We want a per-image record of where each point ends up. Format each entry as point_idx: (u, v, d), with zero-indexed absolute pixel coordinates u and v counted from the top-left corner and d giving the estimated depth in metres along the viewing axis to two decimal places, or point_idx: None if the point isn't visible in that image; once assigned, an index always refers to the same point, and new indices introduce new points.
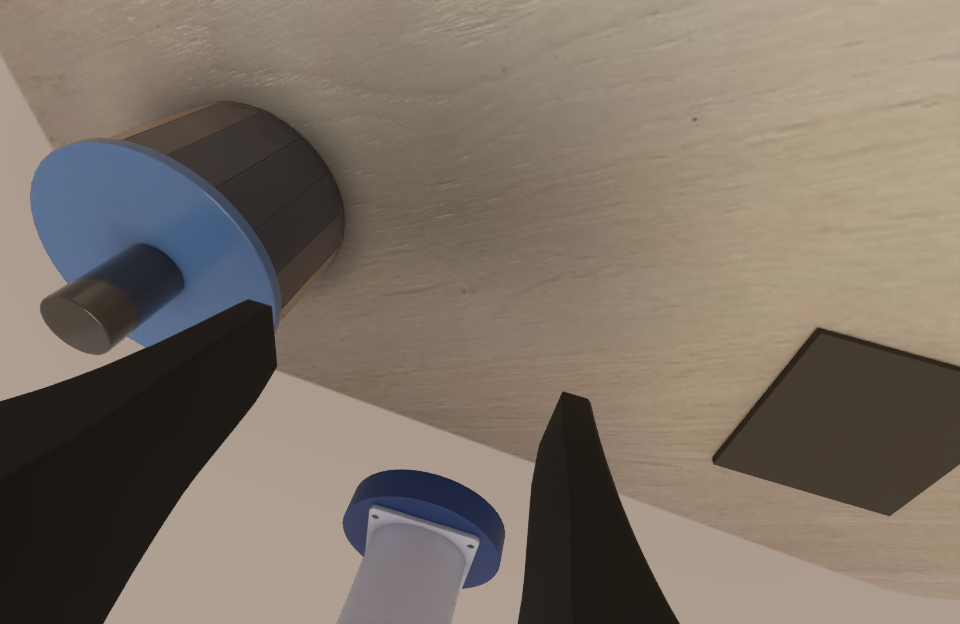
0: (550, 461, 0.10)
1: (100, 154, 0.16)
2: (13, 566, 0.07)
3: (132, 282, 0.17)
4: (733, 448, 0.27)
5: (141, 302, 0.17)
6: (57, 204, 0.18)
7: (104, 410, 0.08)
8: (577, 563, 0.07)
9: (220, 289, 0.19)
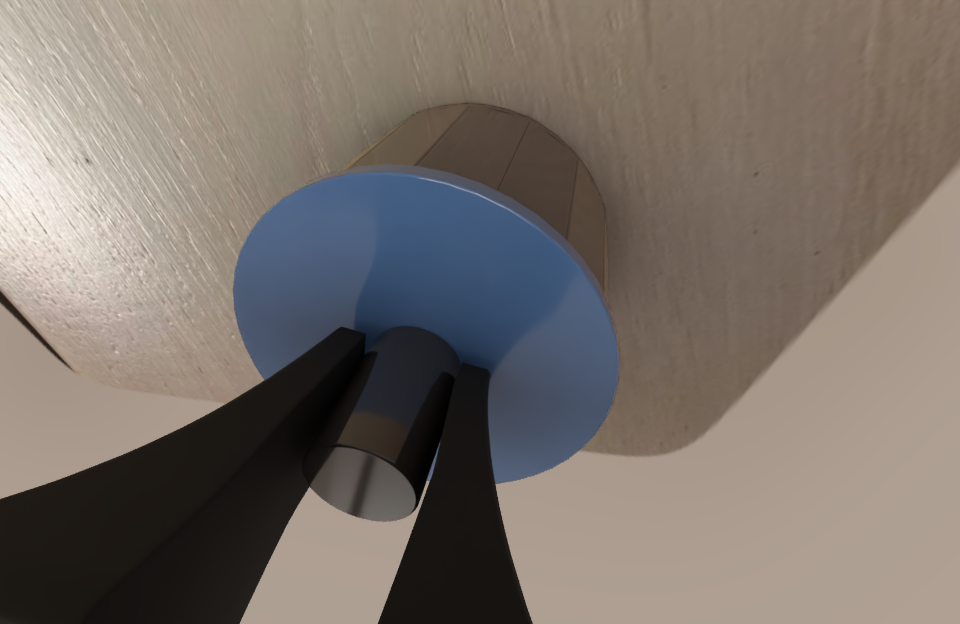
0: None
1: (255, 341, 0.13)
2: (171, 618, 0.07)
3: (354, 381, 0.10)
4: None
5: (376, 385, 0.10)
6: None
7: (241, 452, 0.08)
8: (424, 516, 0.07)
9: (428, 275, 0.11)
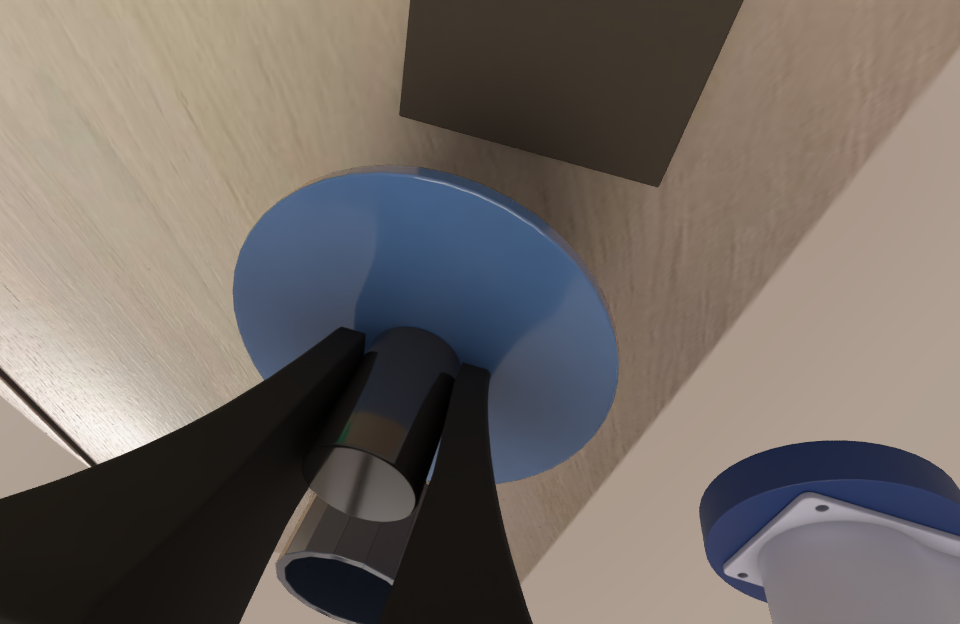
0: (443, 429, 0.10)
1: (255, 342, 0.13)
2: (171, 618, 0.07)
3: (353, 381, 0.10)
4: (617, 167, 0.18)
5: (375, 385, 0.10)
6: None
7: (241, 452, 0.08)
8: (425, 515, 0.07)
9: (428, 276, 0.11)
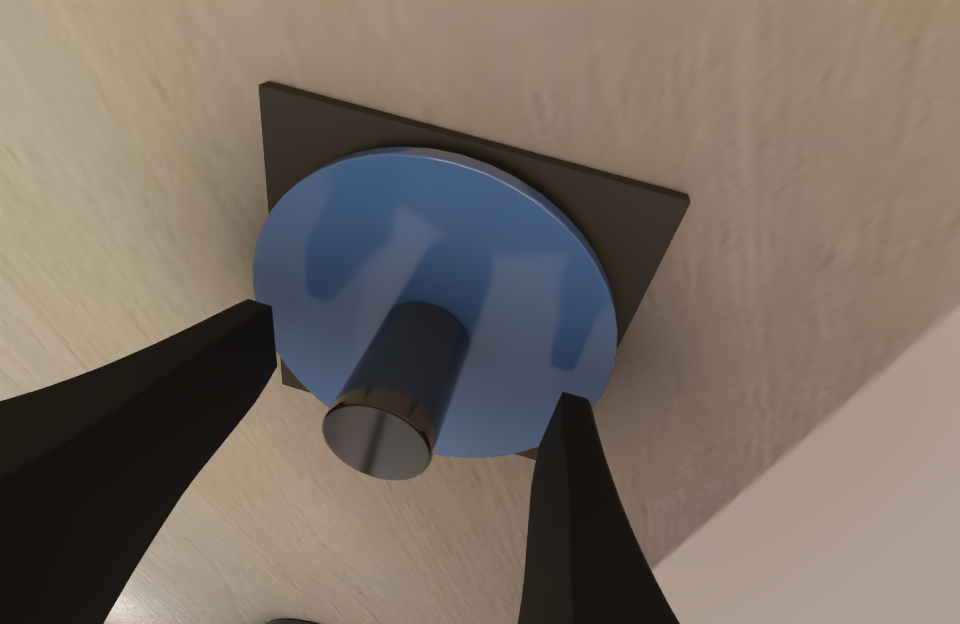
0: (550, 461, 0.10)
1: None
2: (13, 566, 0.07)
3: (369, 350, 0.11)
4: None
5: (390, 352, 0.11)
6: None
7: (104, 409, 0.08)
8: (577, 563, 0.07)
9: (438, 252, 0.11)
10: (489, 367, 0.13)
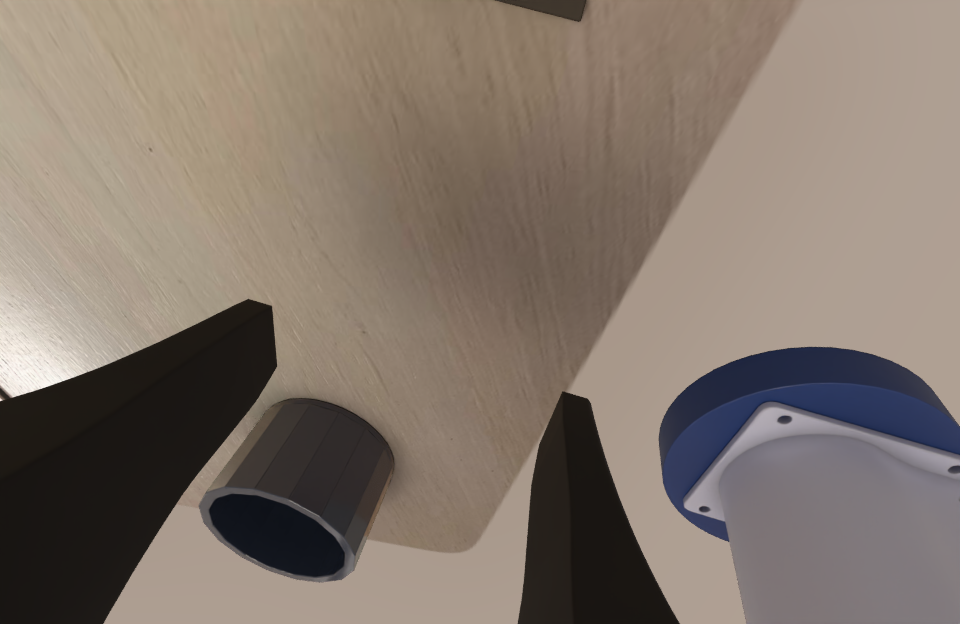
0: (550, 461, 0.10)
1: None
2: (13, 566, 0.07)
3: None
4: None
5: None
6: None
7: (104, 410, 0.08)
8: (577, 563, 0.07)
9: None
10: None
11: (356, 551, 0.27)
